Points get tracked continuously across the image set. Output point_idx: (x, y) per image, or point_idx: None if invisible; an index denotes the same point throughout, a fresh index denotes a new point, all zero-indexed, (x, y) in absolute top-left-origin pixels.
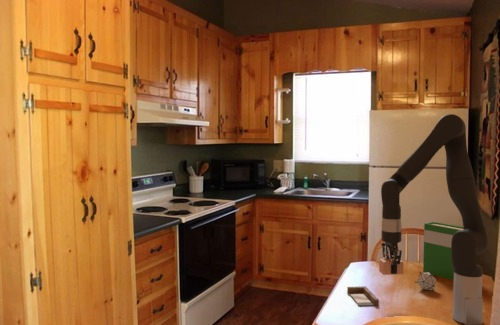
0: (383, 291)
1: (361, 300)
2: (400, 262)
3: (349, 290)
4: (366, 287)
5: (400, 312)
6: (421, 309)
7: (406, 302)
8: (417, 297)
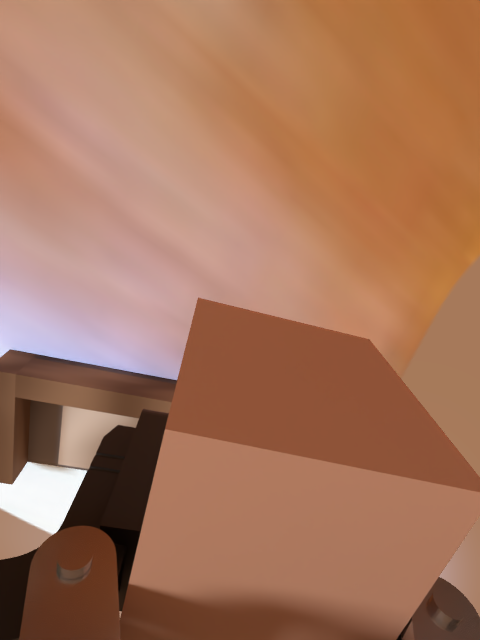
0: (16, 220)
1: None
2: (441, 534)
3: (21, 467)
4: (12, 375)
5: (380, 334)
6: (408, 170)
7: (264, 190)
8: (202, 9)
